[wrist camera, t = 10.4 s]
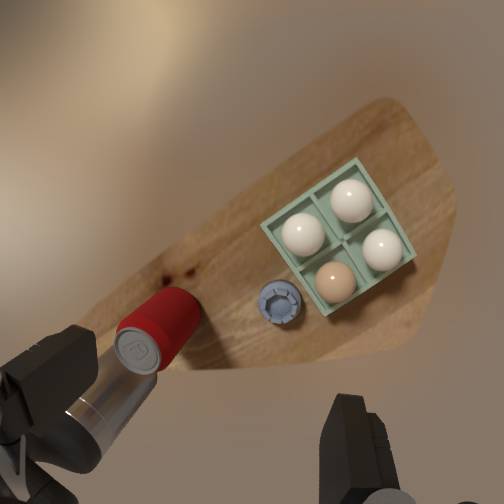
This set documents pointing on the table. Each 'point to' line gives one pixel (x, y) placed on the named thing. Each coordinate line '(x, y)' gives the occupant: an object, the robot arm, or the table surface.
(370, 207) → the white egg
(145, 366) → the beverage can
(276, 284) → the egg cup
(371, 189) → the egg carton
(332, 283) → the brown egg
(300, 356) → the table surface
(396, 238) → the white egg
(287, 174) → the table surface
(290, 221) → the white egg
